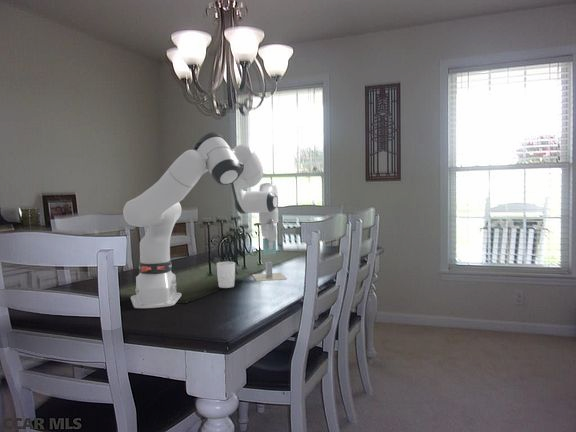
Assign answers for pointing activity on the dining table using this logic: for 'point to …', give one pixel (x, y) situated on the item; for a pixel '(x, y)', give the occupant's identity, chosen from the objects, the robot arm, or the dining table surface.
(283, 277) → the post
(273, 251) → the teal upright block
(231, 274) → the white cup
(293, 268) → the dining table surface
